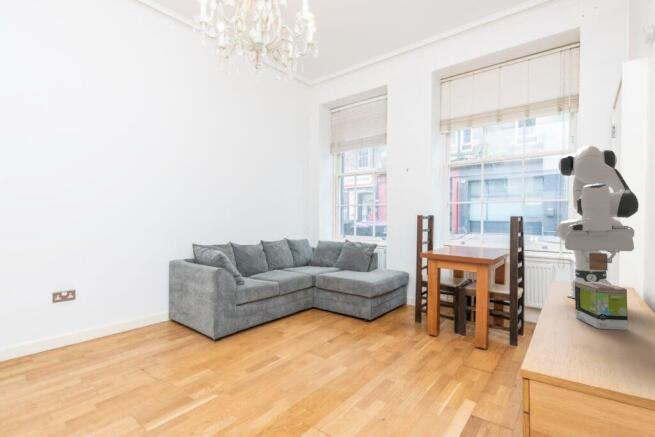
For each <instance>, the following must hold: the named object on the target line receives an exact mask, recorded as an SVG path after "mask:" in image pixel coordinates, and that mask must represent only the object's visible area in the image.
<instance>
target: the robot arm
mask: <svg viewBox="0 0 655 437" xmlns="http://www.w3.org/2000/svg"><path fill="white" fill-rule="evenodd" d="M617 163H618V158H617V155H616V154H615V152H614V151H613V150H611V149H609V150H608V149H603V150H600V149H599V148H598V147H597V146H593V145H587V146H582V147H581V148H579V149H577V151H576V152H575V153H572V154H566V155H563V156H562V157H561V158H560V160H559V162H558V170H559V172H560V174H561V175H563V176H569V177H570V176H574V178H573V182H572V183H573V184H572V196H573V199H572V200H573V208H574V209H575V210H576V214H578V215H579V216H581V218H580V219H566V220H562V221H560V222H559V223H558V224H557V226H556V234H557V236H558V238H559V239H560V240H562V241H563V242H564V248H565V249H566V250H567V251H573V255H574V258H575V269H574V275H575V278H573V279H572V280H571V282H570V287H571V289H570V290H571V292H569V293H568V294H567V297H568V298H570V299H571V298H572V299H575V282H603V283H607V284H611V285H612V283H611V282H610V281H609V280H608V279H607V277H608V276H607V275H608V274H607V271H604V270H590V268H589V262H590V257H589V253H603V252H605V251H608V252H610V254H611V255H610V256H609V257H607V263H608V264H613V259H614V257H615V256H616V254H617V252H633V250H635V243H634V240H633V238H634V237H635V230H634V228H632V226H629V225H623V224H622V222H621V221H619V220H618V219H616V218H622V219H623V218H626V219H628V218H631V217H632V216H634V215H635V214H636V213H637V212H638V211H639V206H640V204H639V199H638V198H637V195H636V194H635V193H634V192H633V191H632V190H631V188H630V187H629V185H628V184H627V182H626V181H625V179H624V177H623V176H622V174H621V173H620V171H619V170H618V169H617V168H616V165H617ZM609 187H610V188H611V189H612V191H613V192H610V188H609ZM602 251H603V252H602Z"/></svg>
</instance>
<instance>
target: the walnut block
mask: <svg viewBox="0 0 655 437" xmlns="http://www.w3.org/2000/svg"><path fill="white" fill-rule="evenodd" d="M589 257H590V262H589V268H590V270H604V271H606V272H607V271H608V264H609V263H607V258H608V253H605V252H602V253H589Z"/></svg>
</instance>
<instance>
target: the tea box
mask: <svg viewBox="0 0 655 437" xmlns="http://www.w3.org/2000/svg"><path fill="white" fill-rule="evenodd" d="M627 290H628V289H627V288H625V287H621V286H618V285H614V284H612V283H611V284H607V283H603V282H575V298H574V299H575V302H574V305H575V318H577V319H579V320H580V321H583V322H584V323H587V324H589V326H592V327H594V328H596V329H598V330H599V329H602V330H621V331H622V330H623V331H627V330H628V329H629V320H628V316H629V315H628V291H627Z"/></svg>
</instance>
